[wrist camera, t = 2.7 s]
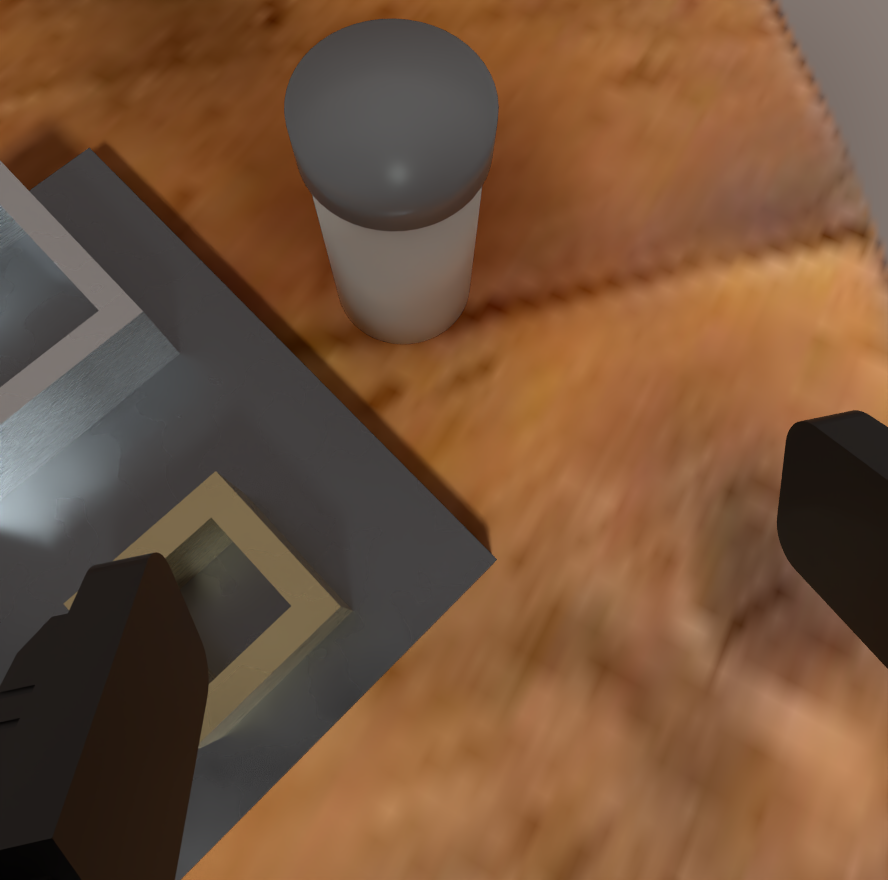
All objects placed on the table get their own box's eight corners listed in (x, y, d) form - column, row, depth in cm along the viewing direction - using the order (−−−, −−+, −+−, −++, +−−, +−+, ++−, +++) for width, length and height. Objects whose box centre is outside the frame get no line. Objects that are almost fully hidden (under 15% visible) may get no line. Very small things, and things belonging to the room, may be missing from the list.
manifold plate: (-215, 405, 27) (-357, 354, 22) (105, 171, 30) (43, 81, 25) (167, 893, 23) (96, 963, 18) (493, 564, 26) (508, 546, 21)
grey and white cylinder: (302, 281, 29) (240, 100, 19) (406, 195, 30) (395, -15, 20) (401, 377, 28) (387, 238, 18) (504, 284, 29) (542, 107, 19)
